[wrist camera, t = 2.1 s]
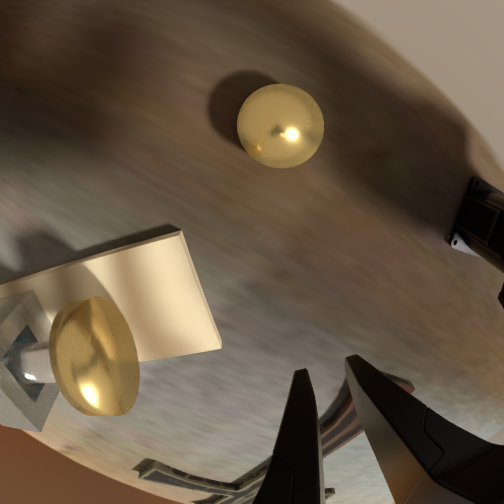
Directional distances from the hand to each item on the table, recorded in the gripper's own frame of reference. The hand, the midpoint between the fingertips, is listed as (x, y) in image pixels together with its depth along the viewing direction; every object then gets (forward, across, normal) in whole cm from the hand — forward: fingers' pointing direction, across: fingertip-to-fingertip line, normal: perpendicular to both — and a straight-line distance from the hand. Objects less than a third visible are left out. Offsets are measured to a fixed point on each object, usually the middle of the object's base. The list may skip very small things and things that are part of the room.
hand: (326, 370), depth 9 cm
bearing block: (+12, +24, +3) cm, 27 cm away
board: (+13, +17, +3) cm, 22 cm away
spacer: (+13, -2, -7) cm, 15 cm away
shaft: (+11, +21, +3) cm, 24 cm away
